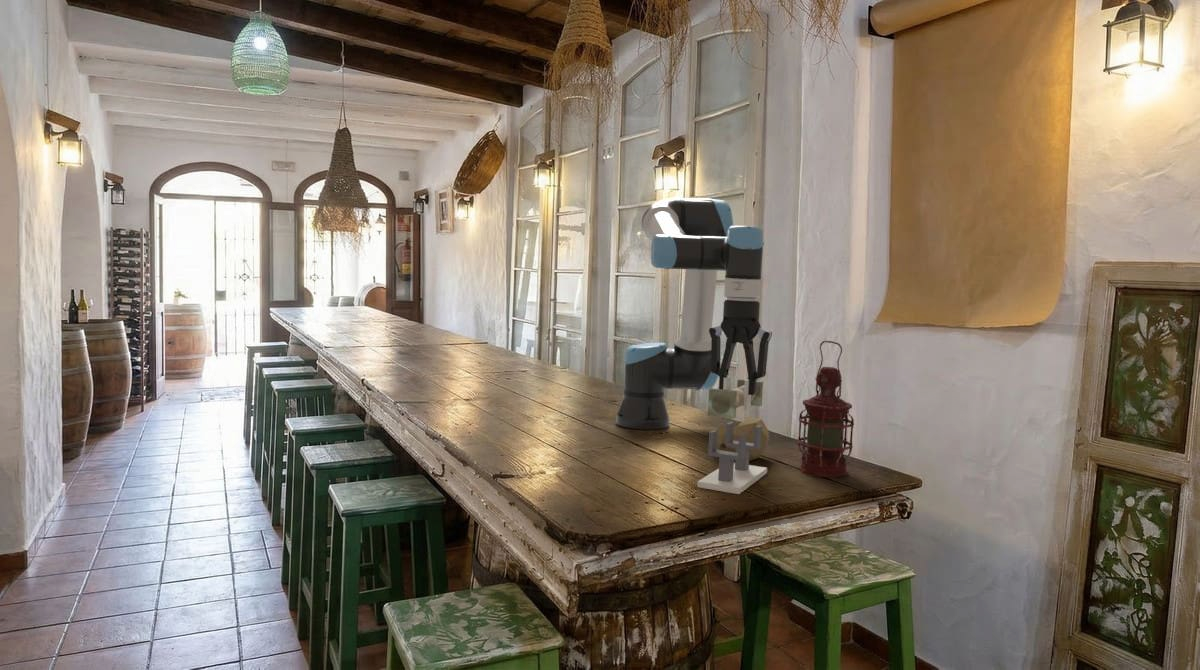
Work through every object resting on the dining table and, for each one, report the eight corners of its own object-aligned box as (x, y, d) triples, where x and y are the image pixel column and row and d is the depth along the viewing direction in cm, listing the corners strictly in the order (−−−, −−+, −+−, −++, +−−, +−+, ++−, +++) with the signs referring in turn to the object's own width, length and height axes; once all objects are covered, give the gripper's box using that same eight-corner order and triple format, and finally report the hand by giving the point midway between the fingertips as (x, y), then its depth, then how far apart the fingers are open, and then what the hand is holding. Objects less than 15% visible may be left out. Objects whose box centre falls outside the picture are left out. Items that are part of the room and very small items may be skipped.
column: (738, 402, 181) (739, 379, 181) (761, 405, 179) (763, 381, 178) (707, 415, 164) (709, 389, 163) (733, 418, 161) (734, 392, 161)
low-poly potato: (770, 455, 198) (732, 428, 203) (786, 423, 192) (747, 396, 197) (738, 482, 188) (700, 453, 193) (754, 449, 182) (714, 420, 187)
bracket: (728, 466, 184) (731, 419, 183) (766, 473, 180) (769, 423, 179) (697, 487, 166) (700, 434, 165) (739, 494, 162) (742, 439, 161)
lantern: (785, 466, 186) (792, 338, 183) (827, 463, 191) (835, 338, 188) (817, 480, 175) (826, 344, 172) (862, 476, 179) (871, 343, 177)
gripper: (697, 297, 170) (692, 406, 172) (776, 302, 162) (770, 415, 164) (710, 297, 177) (705, 401, 179) (786, 301, 169) (780, 410, 171)
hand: (736, 408), depth 171 cm, fingers closed on column, 4 cm apart
